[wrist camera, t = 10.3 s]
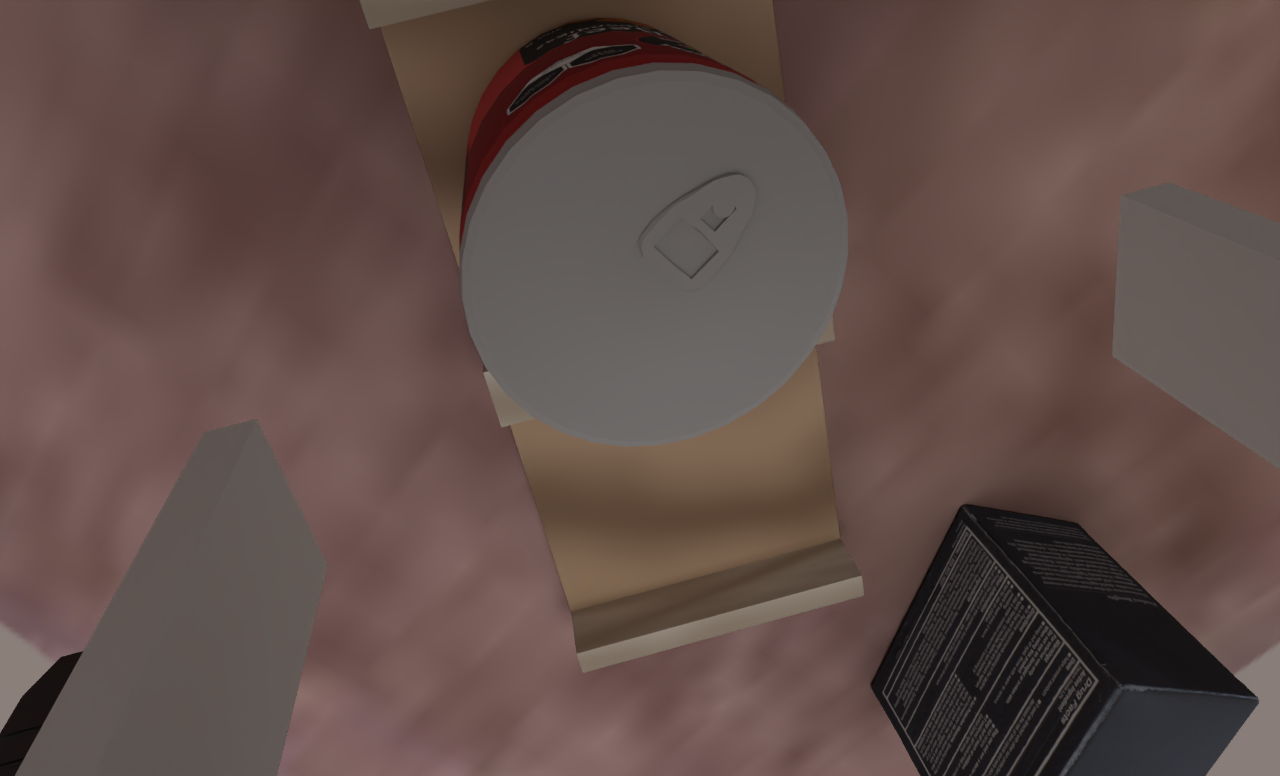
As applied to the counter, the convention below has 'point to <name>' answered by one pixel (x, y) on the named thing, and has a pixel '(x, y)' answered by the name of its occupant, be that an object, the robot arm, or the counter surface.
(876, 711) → the counter surface
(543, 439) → the notched rail
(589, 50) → the canned food
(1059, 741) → the small box
